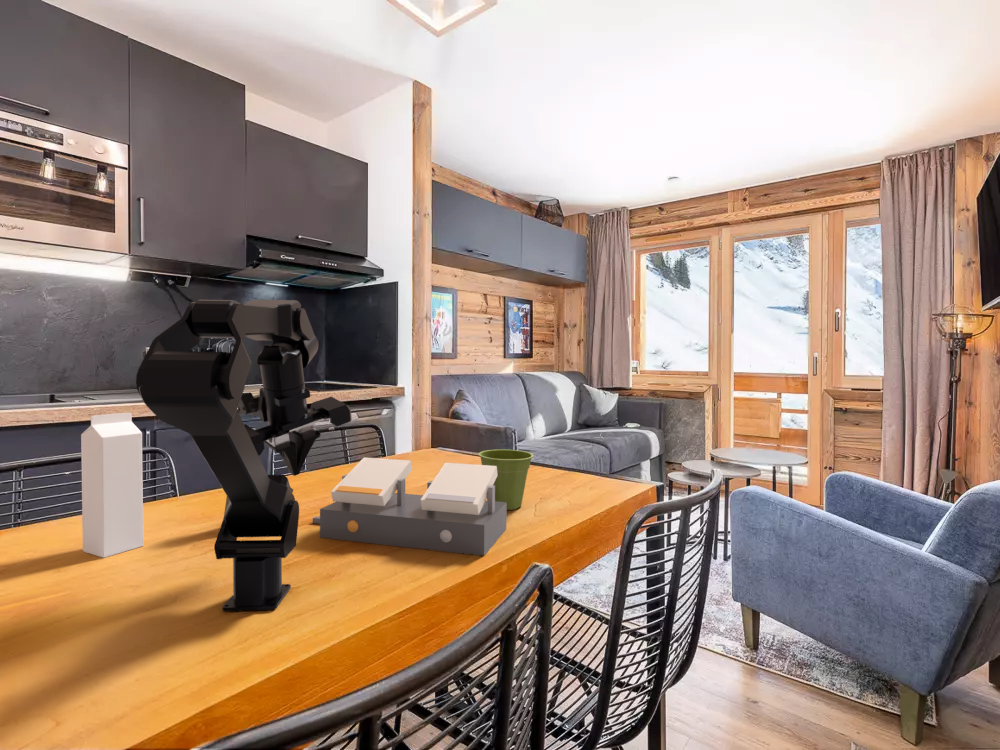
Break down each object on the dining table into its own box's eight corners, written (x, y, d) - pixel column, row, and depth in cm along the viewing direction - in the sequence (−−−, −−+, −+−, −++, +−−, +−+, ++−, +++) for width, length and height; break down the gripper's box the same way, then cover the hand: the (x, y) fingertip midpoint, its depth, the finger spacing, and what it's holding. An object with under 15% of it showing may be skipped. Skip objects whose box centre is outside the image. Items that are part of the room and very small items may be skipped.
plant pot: (501, 517, 105) (502, 461, 105) (466, 504, 114) (467, 452, 114) (544, 507, 112) (545, 455, 112) (508, 496, 122) (508, 447, 121)
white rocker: (478, 514, 86) (477, 503, 86) (422, 509, 89) (420, 498, 88) (497, 475, 97) (496, 465, 96) (446, 471, 100) (445, 461, 99)
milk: (82, 552, 85) (79, 414, 84) (123, 540, 90) (120, 411, 89) (104, 558, 82) (100, 416, 81) (144, 546, 87) (142, 413, 87)
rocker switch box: (483, 556, 84) (484, 497, 84) (289, 534, 94) (289, 481, 94) (506, 529, 98) (506, 478, 98) (335, 512, 107) (335, 465, 107)
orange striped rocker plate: (384, 506, 91) (382, 495, 90) (333, 501, 93) (330, 490, 93) (412, 469, 102) (410, 459, 101) (365, 466, 104) (363, 456, 103)
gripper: (311, 355, 90) (320, 437, 95) (194, 385, 76) (212, 477, 82) (350, 373, 83) (356, 459, 89) (228, 409, 70) (245, 507, 76)
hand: (295, 474), depth 84 cm, fingers closed
